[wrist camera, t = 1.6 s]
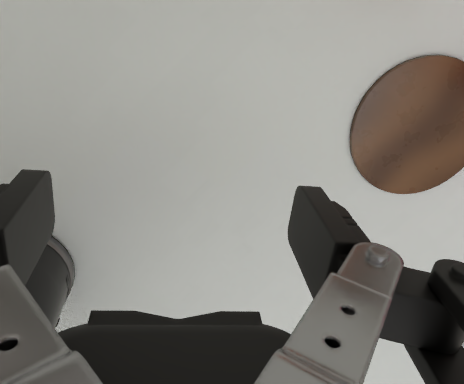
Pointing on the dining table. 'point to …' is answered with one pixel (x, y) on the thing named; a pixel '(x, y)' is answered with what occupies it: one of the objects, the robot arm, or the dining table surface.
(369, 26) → the dining table surface
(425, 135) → the cork coaster
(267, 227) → the dining table surface
